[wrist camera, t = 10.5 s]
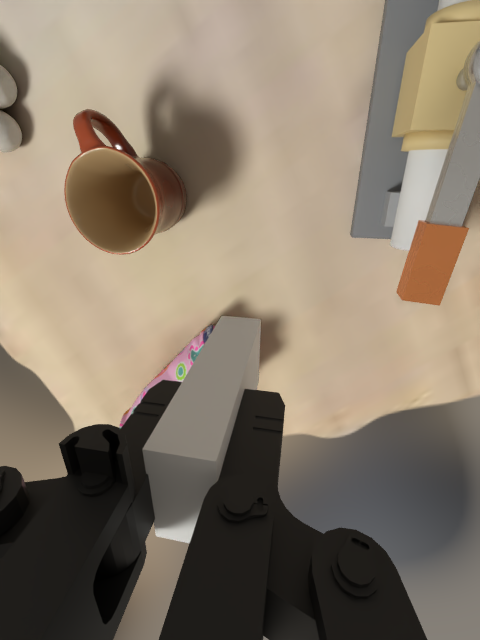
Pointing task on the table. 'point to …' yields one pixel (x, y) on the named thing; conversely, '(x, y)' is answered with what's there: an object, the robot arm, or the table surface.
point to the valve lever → (447, 202)
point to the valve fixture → (412, 113)
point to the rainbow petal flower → (3, 129)
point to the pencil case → (175, 367)
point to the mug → (119, 189)
